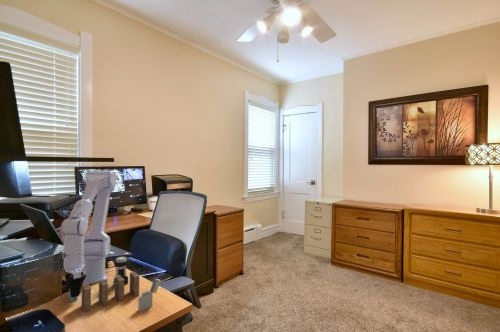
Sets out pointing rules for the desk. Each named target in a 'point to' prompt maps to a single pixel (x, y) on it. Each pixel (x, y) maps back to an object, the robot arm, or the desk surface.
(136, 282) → the domino
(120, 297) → the row domino
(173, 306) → the desk surface
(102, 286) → the row domino
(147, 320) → the desk surface
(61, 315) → the desk surface
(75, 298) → the domino
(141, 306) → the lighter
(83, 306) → the row domino
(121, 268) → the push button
